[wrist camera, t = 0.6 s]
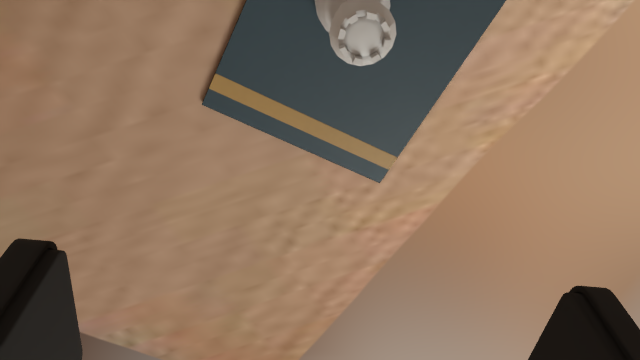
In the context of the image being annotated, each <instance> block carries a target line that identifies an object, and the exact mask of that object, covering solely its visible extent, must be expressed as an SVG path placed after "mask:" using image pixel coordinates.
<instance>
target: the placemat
mask: <svg viewBox="0 0 640 360" xmlns="http://www.w3.org/2000/svg"><path fill="white" fill-rule="evenodd" d="M505 1H506V0H390V9H389V10H390V12H391V14H392V16H393V18H394V20H395V24H396V37H395V40H394V44H393V47H392V48H391V49H390V51H389V52H388V53H387V54H386V56H385V57H384V58H382V59H381V60H379V61H377V62H375V63H374V64H370V65H364V66H357V65H352V64H348V63H346V62H345V61H344V60H342V59H341V58H339V57H338V56H337V55H336V53H335V51H334V50H333V48H332V46H331V43H330V36H329V32H327V31H326V30H325V28H324V27H323V25H322V23H321V22H320V20H319V18H318V16H317V12H316V5H315V0H246V3H245V5H244V7H243V10H242V12H241V14H240V17H239V19H238V21H237V24H236V26H235V28H234V30H233V33H232V35H231V37H230V40H229V42H228V44H227V47H226V49H225V51H224V54H223V56H222V58H221V61H220V63H219V65H218V68H217V70H216V72H215V75H214V77H213V79H212V82H211V84H210V86H209V89H208V91H207V93H206V96H205V98H204V100H203V103H202V105H204V106H206V107H209V108H211V109H213V110H215V111H218V112H220V113H222V114H224V115H227V116H229V117H231V118H233V119H236V120H238V121H240V122H243V123H245V124H247V125H249V126H252V127H254V128H256V129H258V130H261V131H263V132H265V133H267V134H270V135H272V136H274V137H276V138H279V139H281V140H283V141H286V142H288V143H290V144H292V145H295V146H297V147H299V148H301V149H304V150H306V151H308V152H310V153H313V154H315V155H317V156H320V157H322V158H324V159H326V160H329V161H331V162H333V163H335V164H338V165H340V166H342V167H344V168H347V169H349V170H351V171H354V172H356V173H358V174H360V175H363V176H365V177H367V178H369V179H372V180H374V181H376V182H378V183H380V182H381V181H382V179H383V178H384V176H385V175H386V173H387V172H388V170H389V169H390V168H391V166H392V165H393V163H394V162H395V160H396V159H397V157H398V156H399V154H400V153H401V152H402V150H403V149H404V147H405V146H406V144H407V143H408V141H409V140H410V139H411V137H412V136H413V134H414V133H415V131H416V130H417V128H418V127H419V126H420V124H421V123H422V121H423V120H424V118H425V117H426V115H427V114H428V113H429V111H430V110H431V108H432V107H433V105H434V104H435V102H436V101H437V100H438V98H439V97H440V95H441V94H442V92H443V91H444V89H445V88H446V87H447V85H448V84H449V82H450V81H451V79H452V78H453V76H454V75H455V73H456V72H457V71H458V69H459V68H460V66H461V65H462V63H463V62H464V60H465V59H466V58H467V56H468V55H469V53H470V52H471V50H472V49H473V47H474V46H475V45H476V43H477V42H478V40H479V39H480V37H481V36H482V34H483V33H484V32H485V30H486V29H487V27H488V26H489V24H490V23H491V21H492V20H493V19H494V17H495V16H496V14H497V13H498V11H499V10H500V8H501V7H502V6H503V4H504V3H505Z"/></svg>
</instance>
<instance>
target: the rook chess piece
mask: <svg viewBox="0 0 640 360" xmlns="http://www.w3.org/2000/svg"><path fill="white" fill-rule="evenodd" d="M315 5H316V12H317V16H318V18H319V20H320V22H321V23H322V25H323V27H324V28H325V30H326V31H327V32H329V36H330V43H331V46H332V48H333V50H334V51H335V53H336V55H337V56H338V57H339V58H341V59H342V60H344V61H345V62H346V63H348V64H352V65H357V66H364V65H370V64H374V63H375V62H377V61H379V60H381V59H382V58H384V57H385V56H386V54H387V53H388V52H389V51H390V49H391V48H392V47H393V44H394V40H395V37H396V24H395V20H394V18H393V16H392V14H391V12H390V10H389V9H390V0H315Z"/></svg>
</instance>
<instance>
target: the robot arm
mask: <svg viewBox="0 0 640 360" xmlns="http://www.w3.org/2000/svg"><path fill="white" fill-rule="evenodd" d="M0 360H82V345H81V339H80V333H79V327H78V321H77V315H76V309H75V303H74V297H73V291H72V285H71V279H70V273H69V267H68V261H67V256H66V253H65V251H61V250H57V247H56V244H55V243H54V242H51V241H41V240H29V239H17V240H15V241H14V242H13V243H12V244H11V245H10V246H9V247H8V249H7V250H6V251H5V253H4V254H3V255H2V256H1V258H0ZM528 360H640V329H639V328H638V326H637V325H636V324H635V322H634V321H633V319H632V318H631V317H630V315H629V314H628V313H627V311H626V310H625V309H624V307H623V306H622V304H621V303H620V302H619V300H618V299H617V298H616V296H615V295H614V294H613V293H612V292H611V291H610V290H609V289H607V288H599V287H587V286H575V287H574V288H572V289H571V290H570V292H569V293H565V294H563V296H562V297H561V299H560V301H559V303H558V305H557V306H556V309H555V310H554V312H553V314H552V316H551V318H550V319H549V321H548V323H547V325H546V327H545V329H544V331H543V333H542V334H541V336H540V338H539V340H538V342H537V344H536V346H535V348H534V349H533V351H532V353H531V355H530V357H529V359H528Z"/></svg>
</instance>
